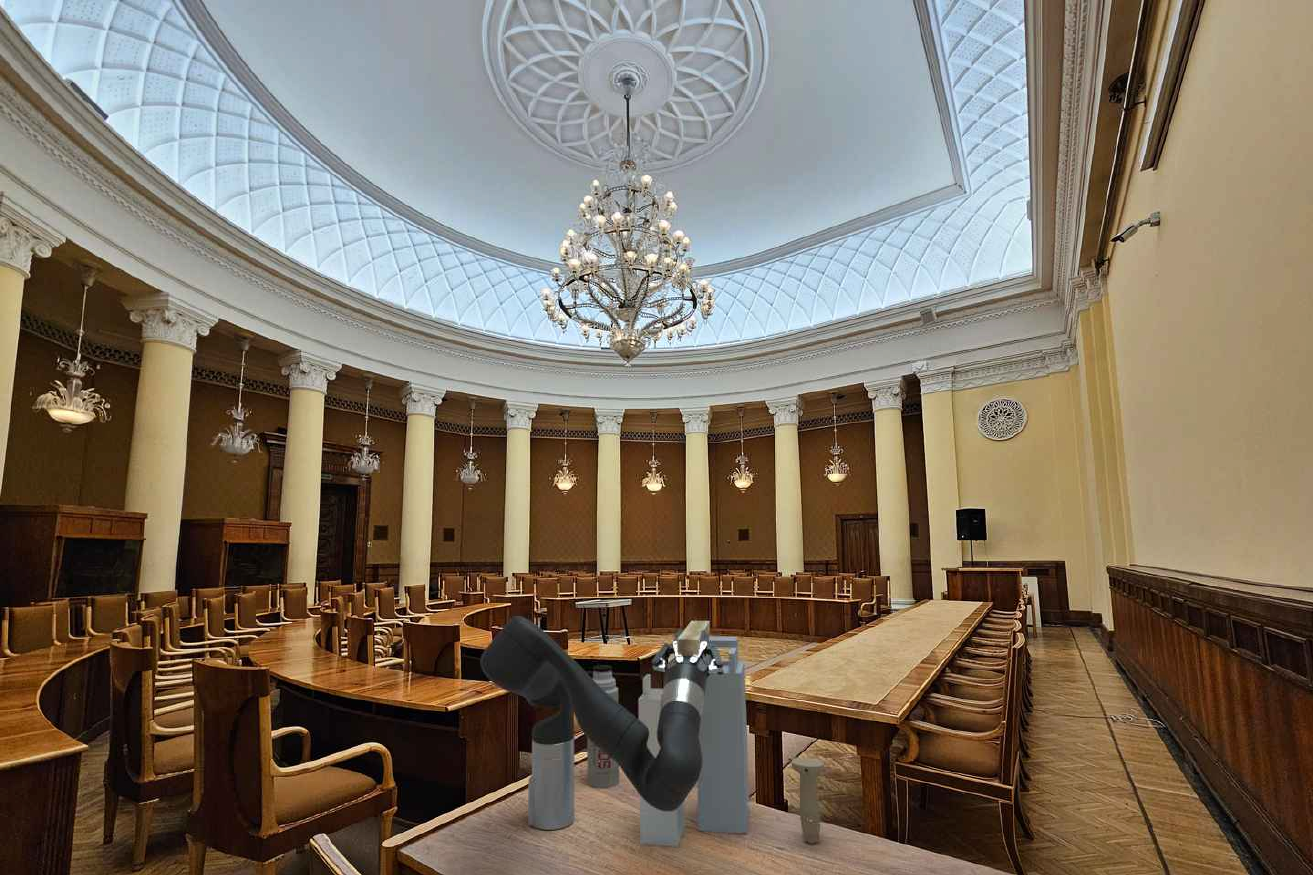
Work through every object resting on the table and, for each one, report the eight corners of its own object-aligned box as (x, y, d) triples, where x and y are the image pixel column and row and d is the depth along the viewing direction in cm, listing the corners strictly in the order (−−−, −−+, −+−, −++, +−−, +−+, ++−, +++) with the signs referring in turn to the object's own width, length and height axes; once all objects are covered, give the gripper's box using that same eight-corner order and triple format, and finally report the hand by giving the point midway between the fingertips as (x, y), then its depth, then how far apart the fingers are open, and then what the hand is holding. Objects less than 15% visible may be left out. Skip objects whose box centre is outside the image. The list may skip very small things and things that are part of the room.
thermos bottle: (615, 788, 160) (614, 669, 164) (583, 787, 161) (583, 669, 165) (622, 776, 168) (621, 663, 171) (592, 775, 169) (591, 662, 173)
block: (677, 658, 124) (677, 639, 125) (692, 636, 146) (691, 620, 146) (698, 658, 124) (698, 639, 124) (709, 637, 145) (709, 620, 145)
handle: (826, 848, 128) (822, 767, 130) (793, 843, 131) (789, 764, 133) (828, 837, 133) (825, 759, 135) (797, 833, 135) (793, 756, 137)
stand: (698, 830, 137) (693, 645, 142) (705, 806, 149) (700, 636, 154) (746, 833, 135) (740, 646, 140) (749, 809, 147) (743, 636, 152)
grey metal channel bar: (640, 844, 132) (638, 683, 136) (649, 824, 140) (647, 674, 145) (677, 846, 130) (674, 684, 134) (684, 826, 139) (680, 674, 143)
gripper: (646, 711, 119) (659, 647, 134) (724, 714, 116) (729, 648, 132) (641, 679, 116) (655, 617, 131) (721, 681, 113) (726, 618, 129)
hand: (692, 633), depth 131 cm, fingers closed on block, 4 cm apart
